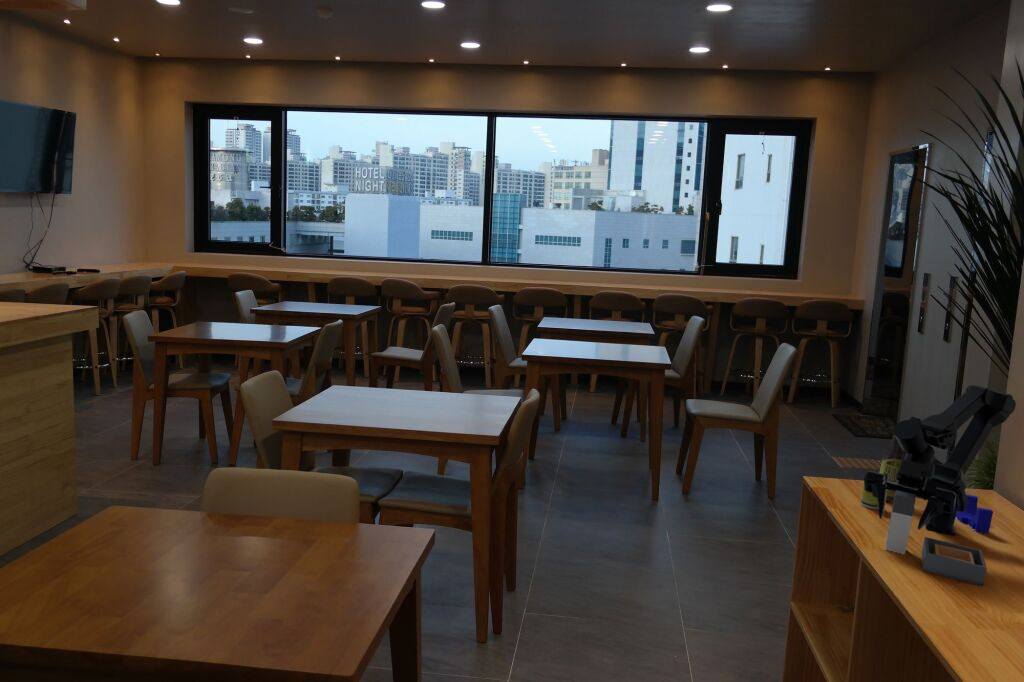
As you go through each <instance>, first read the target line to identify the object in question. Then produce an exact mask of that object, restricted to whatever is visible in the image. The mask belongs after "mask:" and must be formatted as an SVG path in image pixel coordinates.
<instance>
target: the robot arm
mask: <svg viewBox="0 0 1024 682" xmlns="http://www.w3.org/2000/svg"><path fill="white" fill-rule="evenodd" d="M1016 406H1017V404H1016V400H1015V399H1014V397H1013V395H1012V394H1010V393H1005V392H1001V391H997V390H994V389H993V390H992V389H990V388H988V387H985V386H981V385H975V384H973V385H972V384H971V385H968V386H967V387H966V390H965V391H964V392H963V394H962V395H960V396H959V397H958V398H957V399H956V400H954V402H952V403H951V404H950V405H949V406H948V407H947V408H946V409H944V411H942V412H941V413H938V414H932V415H929V416H928V417H926V418H924V419H921V418H919V417H916V416H912V415H911V417H910V418H909V419H904V420H901V421H900V422H898V423H895V425H894V426H893V430H892V432H893V431H894V432H893V434H895V436H896V438H897V440H898V442H899V444H900V446H901V448H902V450H903V451H904V452H906V456H905V459H901V461H900V465H899V469H898V473H897V477H896V480H898V481H897V483H894V482H890V481H887V480H886V479H885V474H882V473H879V472H877V471H874V470H868V471H866V472H865V473H864V474H865V475H864V477H863V488H864V487H865V491H867V492H869V493H872V495H873V496H874V497H876V498H877V500H878V504H879V509H878V512H879V514H878V516H879V517H878V518H879V519H880V520H881V519H882V518H883V517H884V512H885V506H886V502H887V501H886V491H887V490H890V491H894V492H896V490H898V491H902V492H907V493H911V494H915V497H916V499H917V498H918V499H922V500H924V501H927V503H926V506H925V507H924V510H923V512H922V514H921V516H920V519H919V521H918V525H917V530H919V531H920V530H921V529H922V528H923V527H924V526H925V529H927V530H931V531H935V532H939V533H944V534H949V535H953V536H955V535H956V529H955V522H956V512H957V511H961V512H965V510H966V509H967V507H968V503H969V500H968V498H967V496H966V495H967V494H966V491H965V490H966V488H967V482H966V473H967V471H968V470H969V468H970V467H971V465H972V464H973V461H974V460H975V459H976V457H977V455H978V454H979V452H980V450H981V448H982V447H983V445H984V444H985V442H986V440H987V438H988V436H989V435H990V433H991V432H992V430H993V428H995V427H997V426H1000V425H1001V424H1003V423H1006V421H1007V419H1009V417H1010V416H1011V414H1013V413H1014V411H1015V409H1016ZM970 419H971V420H970ZM968 420H970V421H969V423H968V425H967V426H966V428H965V429H964V431H963V433H962V435H961V436H960V438H959V439H958V441H957V442H956V445H955V446H954V448H953V449H952V451H951V453H950V454H949V455H948V458H947V459H946V461H945V462H944V463H942V464H939V463H936V459H937V458H936V450H935V449H934V448H937V449H940V450H948V448H950V447H951V446H952V445H953V444H954V442H955V441H956V439H957V438H958V432H957V431H958V430H959V429H960V428H961V427H962V426H963V425H964V424H966V422H968Z"/></svg>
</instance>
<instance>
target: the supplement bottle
mask: <svg viewBox="0 0 1024 682" xmlns="http://www.w3.org/2000/svg"><path fill="white" fill-rule="evenodd" d="M860 505H861V506H863V507H865V508H868V509H871V510H872V509H873V510H879V504H878V500H877V498H876V497H874V496H873V495H872V493H869V492H867V491H865V487H864V486H863V489H862V495H861V499H860Z"/></svg>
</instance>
